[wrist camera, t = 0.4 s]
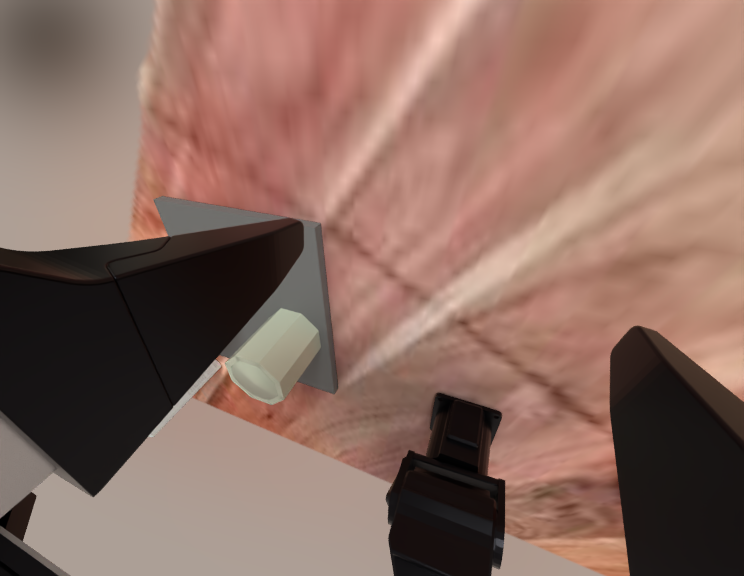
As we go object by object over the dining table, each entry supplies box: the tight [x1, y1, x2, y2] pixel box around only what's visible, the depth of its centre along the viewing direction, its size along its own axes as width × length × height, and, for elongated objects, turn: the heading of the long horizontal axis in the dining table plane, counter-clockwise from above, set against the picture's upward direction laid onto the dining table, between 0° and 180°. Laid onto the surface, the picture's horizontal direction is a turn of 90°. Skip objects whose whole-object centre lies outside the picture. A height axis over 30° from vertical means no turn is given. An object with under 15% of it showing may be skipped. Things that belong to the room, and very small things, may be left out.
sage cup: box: [225, 308, 321, 405], centre depth 32 cm, size 6×6×7 cm
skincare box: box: [148, 359, 221, 437], centre depth 45 cm, size 6×4×12 cm
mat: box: [153, 196, 338, 394], centre depth 36 cm, size 22×18×1 cm
